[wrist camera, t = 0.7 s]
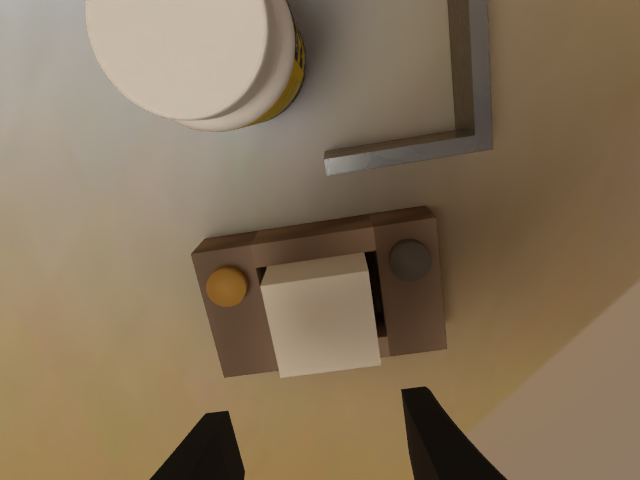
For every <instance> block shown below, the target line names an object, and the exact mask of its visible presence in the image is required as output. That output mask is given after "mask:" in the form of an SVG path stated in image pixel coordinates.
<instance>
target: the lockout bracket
mask: <svg viewBox="0 0 640 480" xmlns="http://www.w3.org/2000/svg"><path fill="white" fill-rule="evenodd" d="M448 16H449V32H450V48H451V64H452V80H453V96H454V112H455V129H456V131H450V132H444V133H438V134H431V135H425V136H419V137H413V138H407V139H401V140H394V141H388V142H382V143H376V144H370V145H363V146H357V147H351V148H345V149H339V150H332V151H326V152H325V154H324V162H325V168H326V175H334V174H340V173H346V172H353V171H359V170H365V169H372V168H378V167H384V166H391V165H397V164H403V163H410V162H416V161H422V160H428V159H435V158H441V157H447V156H454V155H460V154H466V153H473V152H479V151H485V150H492V149H493V140H492V113H491V86H490V59H489V32H488V5H487V0H448Z"/></svg>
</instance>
